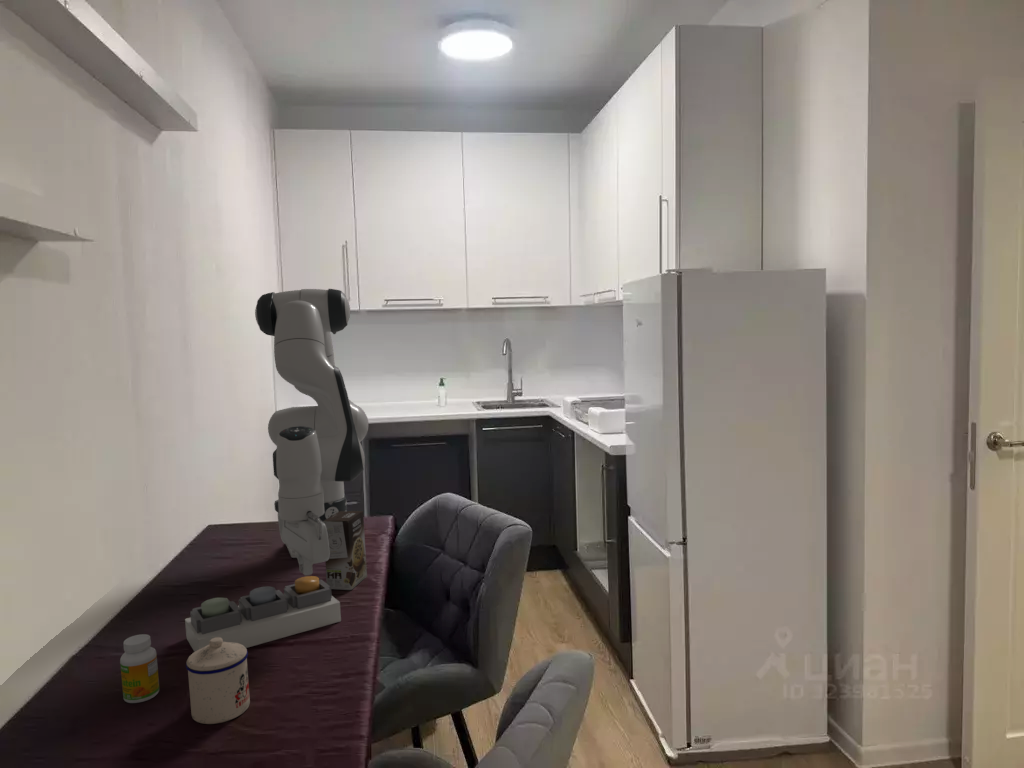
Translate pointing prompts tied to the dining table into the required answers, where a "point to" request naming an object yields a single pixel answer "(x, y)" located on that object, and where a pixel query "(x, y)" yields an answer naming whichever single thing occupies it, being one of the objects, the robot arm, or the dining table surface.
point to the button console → (265, 618)
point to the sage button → (214, 607)
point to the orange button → (306, 584)
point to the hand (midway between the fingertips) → (306, 573)
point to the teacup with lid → (218, 681)
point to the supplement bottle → (139, 669)
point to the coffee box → (346, 550)
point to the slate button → (262, 595)
